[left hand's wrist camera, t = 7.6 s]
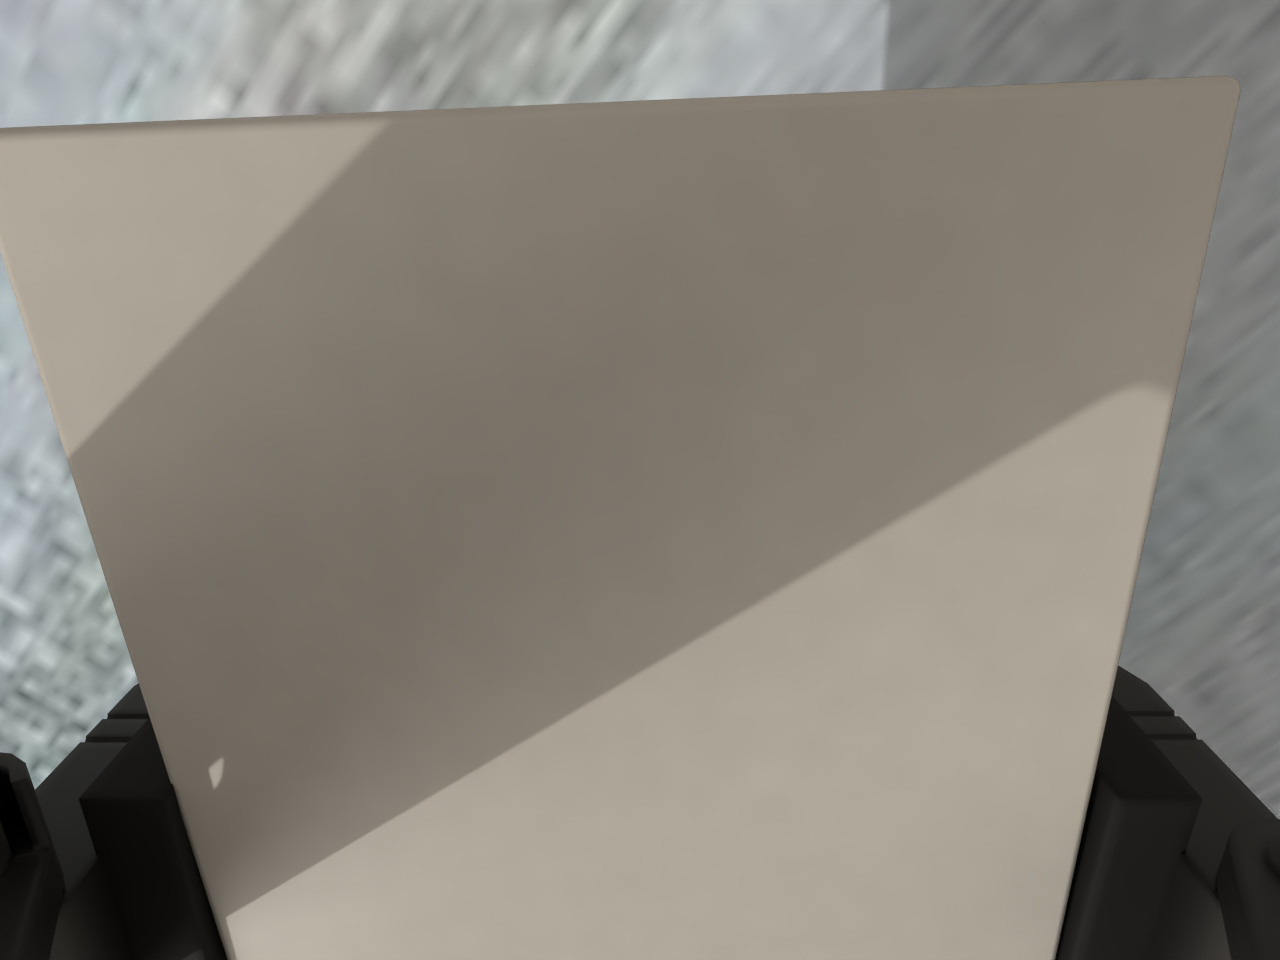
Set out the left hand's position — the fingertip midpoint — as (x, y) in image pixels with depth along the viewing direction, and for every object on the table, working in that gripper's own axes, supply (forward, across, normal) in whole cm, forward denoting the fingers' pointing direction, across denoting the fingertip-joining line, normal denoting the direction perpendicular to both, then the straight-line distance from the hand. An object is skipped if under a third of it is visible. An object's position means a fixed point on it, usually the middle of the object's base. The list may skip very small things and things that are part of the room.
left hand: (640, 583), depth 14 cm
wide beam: (+1, +1, -20) cm, 20 cm away
